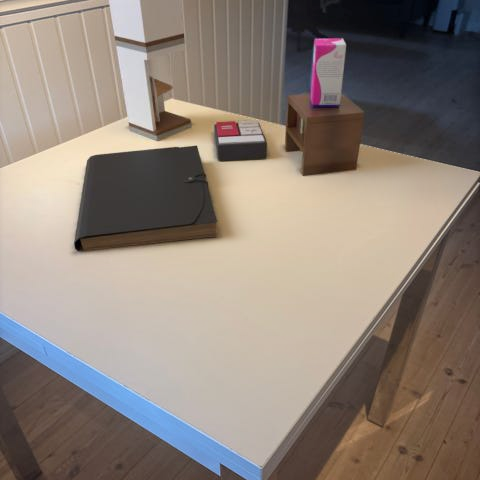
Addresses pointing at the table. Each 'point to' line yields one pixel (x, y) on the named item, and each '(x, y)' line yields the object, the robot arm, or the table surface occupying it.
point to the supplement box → (327, 72)
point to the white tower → (148, 62)
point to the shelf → (324, 134)
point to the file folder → (144, 199)
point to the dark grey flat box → (240, 140)
